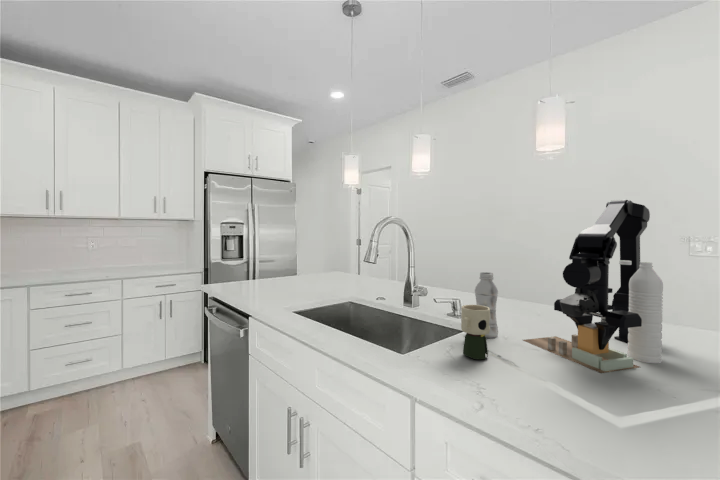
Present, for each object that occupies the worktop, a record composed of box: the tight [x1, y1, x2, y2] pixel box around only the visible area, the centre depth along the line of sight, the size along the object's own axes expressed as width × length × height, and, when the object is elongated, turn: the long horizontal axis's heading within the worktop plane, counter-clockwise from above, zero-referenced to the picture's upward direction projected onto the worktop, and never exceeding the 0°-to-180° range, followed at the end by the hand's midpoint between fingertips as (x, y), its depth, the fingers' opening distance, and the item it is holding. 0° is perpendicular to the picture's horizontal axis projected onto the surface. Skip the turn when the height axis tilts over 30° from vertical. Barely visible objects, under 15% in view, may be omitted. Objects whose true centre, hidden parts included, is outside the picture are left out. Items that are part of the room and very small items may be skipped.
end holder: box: [572, 347, 634, 371], centre depth 82 cm, size 9×8×2 cm
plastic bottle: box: [474, 272, 499, 339], centre depth 104 cm, size 6×7×20 cm
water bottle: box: [618, 259, 664, 364], centre depth 86 cm, size 9×6×25 cm
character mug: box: [460, 304, 490, 360], centre depth 89 cm, size 11×7×13 cm, turn 133°
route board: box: [522, 333, 640, 374], centre depth 89 cm, size 12×24×4 cm, turn 16°
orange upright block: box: [577, 322, 610, 354], centre depth 84 cm, size 5×4×6 cm
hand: (593, 346), depth 84 cm, fingers closed on orange upright block, 4 cm apart
